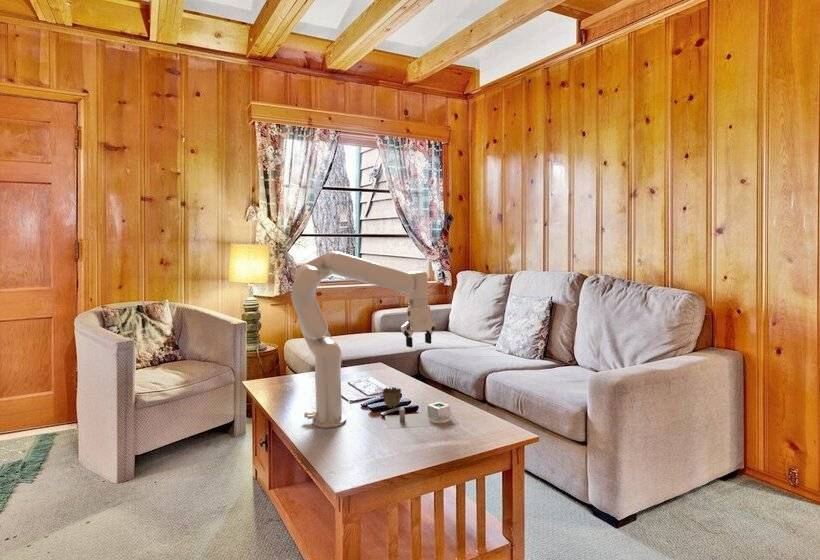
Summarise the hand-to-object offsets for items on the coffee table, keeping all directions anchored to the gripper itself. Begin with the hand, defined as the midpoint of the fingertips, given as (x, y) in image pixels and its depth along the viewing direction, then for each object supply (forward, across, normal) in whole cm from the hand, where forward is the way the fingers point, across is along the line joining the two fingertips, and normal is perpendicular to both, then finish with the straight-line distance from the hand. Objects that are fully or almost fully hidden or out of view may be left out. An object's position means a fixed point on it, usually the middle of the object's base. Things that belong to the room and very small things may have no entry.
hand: (418, 344), depth 203 cm
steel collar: (+25, -3, -15) cm, 29 cm away
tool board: (+26, -9, -12) cm, 30 cm away
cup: (+26, -8, +7) cm, 29 cm away
